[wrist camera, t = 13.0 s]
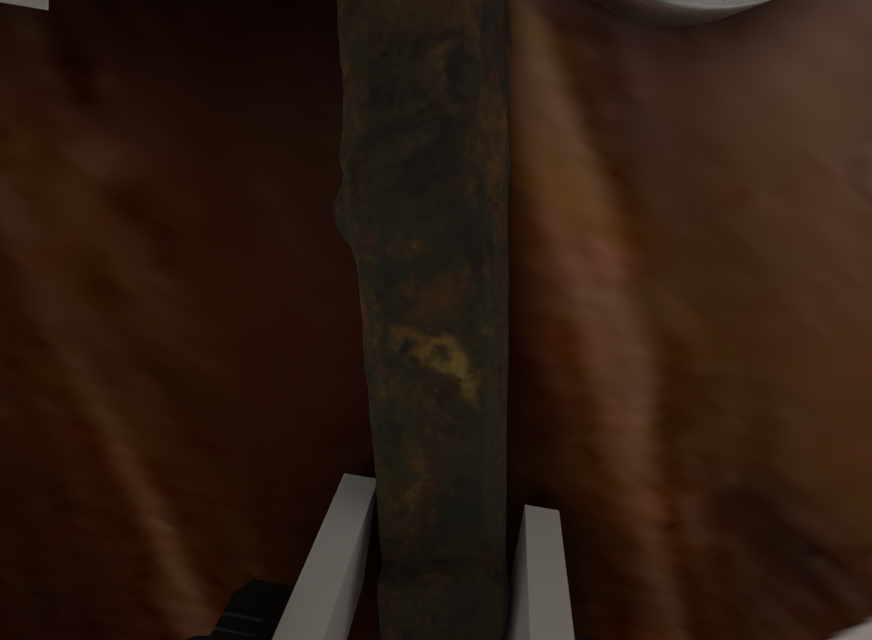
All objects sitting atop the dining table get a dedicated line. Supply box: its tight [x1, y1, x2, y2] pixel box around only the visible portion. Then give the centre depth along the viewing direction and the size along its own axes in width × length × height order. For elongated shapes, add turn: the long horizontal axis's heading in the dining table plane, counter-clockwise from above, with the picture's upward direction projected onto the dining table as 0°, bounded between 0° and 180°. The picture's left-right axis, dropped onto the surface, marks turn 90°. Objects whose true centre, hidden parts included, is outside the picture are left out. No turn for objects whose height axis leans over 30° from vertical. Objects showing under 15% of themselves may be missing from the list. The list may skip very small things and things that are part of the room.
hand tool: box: [333, 0, 511, 640], centre depth 17 cm, size 19×4×5 cm, turn 0°
